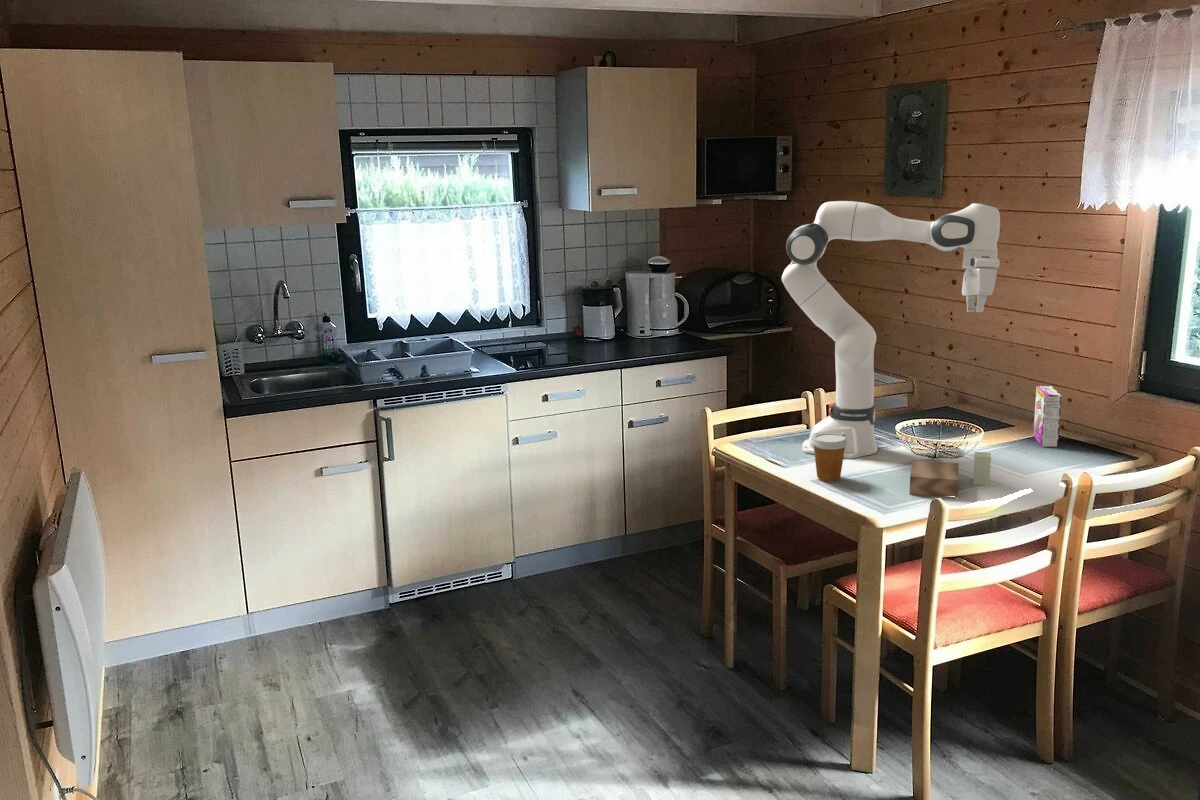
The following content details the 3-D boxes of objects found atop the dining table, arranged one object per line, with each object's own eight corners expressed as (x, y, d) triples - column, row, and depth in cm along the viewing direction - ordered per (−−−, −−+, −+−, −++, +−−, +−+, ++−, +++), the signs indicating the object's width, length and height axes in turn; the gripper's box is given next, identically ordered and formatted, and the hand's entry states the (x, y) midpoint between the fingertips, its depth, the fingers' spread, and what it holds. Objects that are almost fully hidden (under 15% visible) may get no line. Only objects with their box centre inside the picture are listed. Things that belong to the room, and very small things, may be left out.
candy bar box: (1031, 436, 296) (1035, 385, 292) (1049, 437, 295) (1053, 385, 291) (1040, 447, 286) (1044, 394, 282) (1058, 447, 285) (1062, 394, 281)
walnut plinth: (909, 494, 253) (910, 476, 251) (911, 477, 265) (912, 460, 264) (957, 497, 248) (958, 479, 247) (957, 480, 261) (958, 463, 260)
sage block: (973, 484, 258) (974, 456, 256) (973, 479, 262) (974, 451, 260) (989, 485, 257) (990, 457, 255) (988, 480, 260) (990, 452, 258)
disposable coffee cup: (809, 472, 272) (810, 432, 269) (843, 472, 271) (844, 432, 268) (813, 484, 263) (813, 442, 260) (848, 483, 262) (849, 442, 259)
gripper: (958, 263, 276) (954, 311, 277) (977, 260, 256) (972, 311, 257) (981, 264, 275) (976, 312, 276) (1001, 261, 255) (996, 312, 256)
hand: (974, 312), depth 266 cm, fingers open, 8 cm apart
